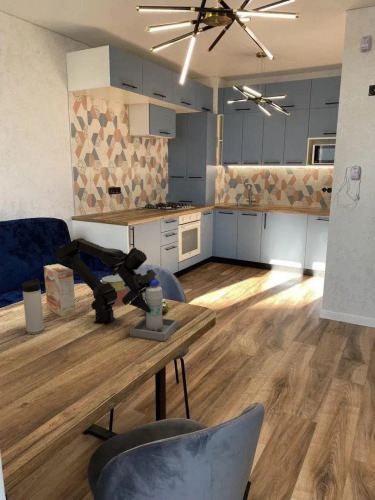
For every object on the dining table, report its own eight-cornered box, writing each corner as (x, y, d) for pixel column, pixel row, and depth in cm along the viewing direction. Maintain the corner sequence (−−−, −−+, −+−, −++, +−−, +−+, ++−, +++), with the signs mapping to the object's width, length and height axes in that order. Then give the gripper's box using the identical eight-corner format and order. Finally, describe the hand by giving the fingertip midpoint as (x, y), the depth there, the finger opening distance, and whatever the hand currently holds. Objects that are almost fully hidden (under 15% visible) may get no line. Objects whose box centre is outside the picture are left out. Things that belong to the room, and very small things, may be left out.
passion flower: (152, 328, 162) (136, 309, 156) (149, 314, 171) (133, 296, 166) (174, 313, 161) (158, 294, 156) (169, 300, 171) (154, 282, 166)
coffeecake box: (46, 307, 171) (43, 266, 167) (61, 304, 176) (58, 263, 172) (60, 317, 160) (57, 272, 156) (76, 312, 165) (73, 269, 161)
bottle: (165, 332, 142) (164, 281, 138) (147, 334, 141) (146, 283, 136) (161, 325, 149) (160, 276, 145) (144, 327, 147) (143, 278, 143)
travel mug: (48, 329, 148) (44, 279, 144) (35, 335, 142) (30, 284, 138) (36, 326, 150) (31, 278, 146) (23, 332, 144) (17, 282, 140)
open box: (130, 336, 141) (129, 329, 140) (146, 322, 153) (146, 315, 153) (164, 341, 136) (164, 334, 135) (178, 327, 149) (178, 319, 148)
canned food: (119, 297, 185) (118, 273, 182) (132, 303, 177) (131, 278, 174) (98, 302, 177) (97, 278, 175) (111, 309, 169) (109, 283, 167)
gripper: (127, 270, 133) (155, 304, 131) (155, 259, 150) (180, 289, 147) (110, 288, 138) (136, 322, 136) (138, 276, 155) (162, 305, 152)
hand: (155, 308), depth 143 cm, fingers open, 7 cm apart
